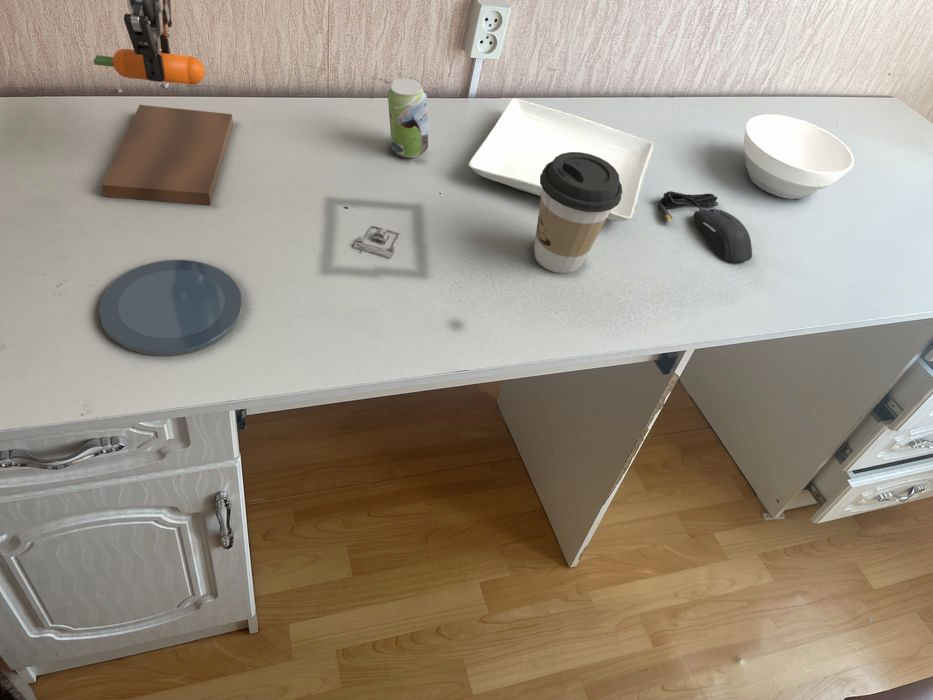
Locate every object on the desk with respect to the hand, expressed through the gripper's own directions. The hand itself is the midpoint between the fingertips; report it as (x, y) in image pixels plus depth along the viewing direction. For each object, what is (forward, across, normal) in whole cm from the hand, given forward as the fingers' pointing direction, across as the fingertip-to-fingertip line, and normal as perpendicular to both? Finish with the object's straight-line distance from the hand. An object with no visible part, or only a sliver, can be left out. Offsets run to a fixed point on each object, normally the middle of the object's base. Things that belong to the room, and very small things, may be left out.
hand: (159, 72), depth 95 cm
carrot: (+1, 0, -1) cm, 2 cm away
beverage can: (+14, -10, +35) cm, 39 cm away
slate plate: (+14, +31, +6) cm, 34 cm away
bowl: (+14, -12, +104) cm, 105 cm away
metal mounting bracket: (+15, +18, +32) cm, 40 cm away
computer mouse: (+14, +5, +83) cm, 84 cm away
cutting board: (+14, -1, 0) cm, 14 cm away
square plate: (+14, -9, +62) cm, 64 cm away
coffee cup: (+14, +15, +57) cm, 61 cm away
